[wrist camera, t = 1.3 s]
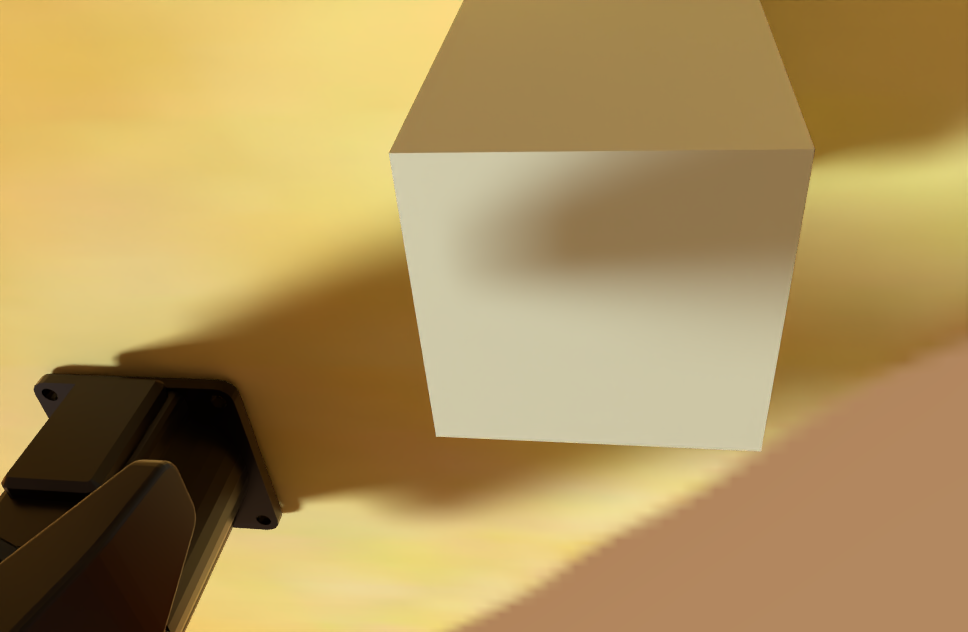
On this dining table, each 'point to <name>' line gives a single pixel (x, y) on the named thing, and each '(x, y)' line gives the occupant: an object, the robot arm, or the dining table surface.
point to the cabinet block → (603, 221)
